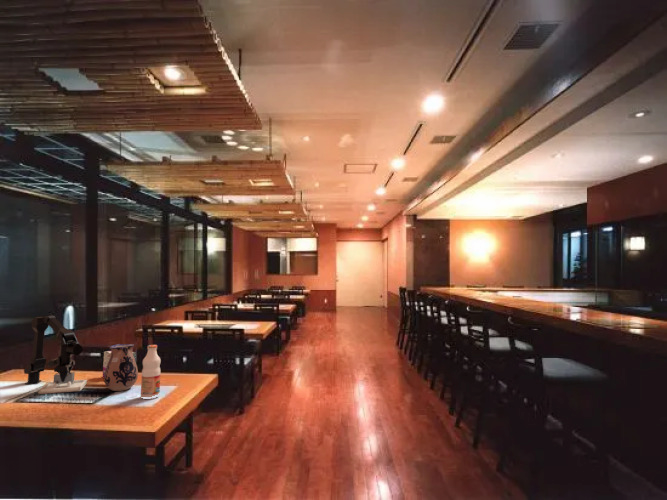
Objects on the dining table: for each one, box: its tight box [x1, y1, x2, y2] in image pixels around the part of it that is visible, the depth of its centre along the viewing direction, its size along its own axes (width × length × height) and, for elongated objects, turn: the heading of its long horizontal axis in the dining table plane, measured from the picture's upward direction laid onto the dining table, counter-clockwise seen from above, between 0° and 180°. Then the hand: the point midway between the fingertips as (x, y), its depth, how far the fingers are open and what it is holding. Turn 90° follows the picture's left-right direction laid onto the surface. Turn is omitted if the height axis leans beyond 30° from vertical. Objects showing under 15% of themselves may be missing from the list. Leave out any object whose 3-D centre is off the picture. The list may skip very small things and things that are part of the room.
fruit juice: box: [140, 344, 162, 398], centre depth 219 cm, size 9×9×28 cm
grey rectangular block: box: [52, 371, 76, 384], centre depth 232 cm, size 5×9×5 cm, turn 109°
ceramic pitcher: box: [103, 343, 139, 392], centre depth 234 cm, size 18×21×25 cm
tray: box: [37, 379, 88, 395], centre depth 231 cm, size 17×20×4 cm
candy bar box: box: [102, 350, 111, 378], centre depth 257 cm, size 11×5×16 cm, turn 68°
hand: (64, 380), depth 231 cm, fingers closed on grey rectangular block, 5 cm apart
